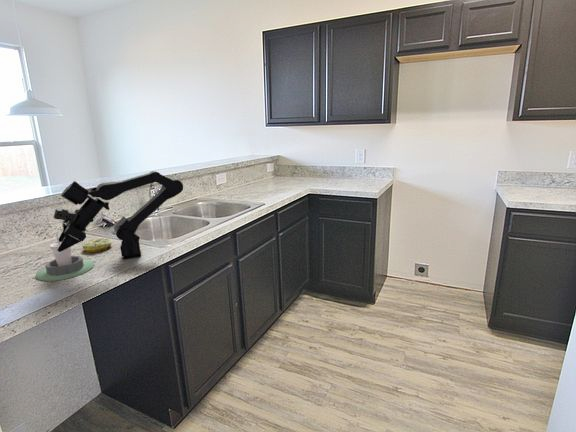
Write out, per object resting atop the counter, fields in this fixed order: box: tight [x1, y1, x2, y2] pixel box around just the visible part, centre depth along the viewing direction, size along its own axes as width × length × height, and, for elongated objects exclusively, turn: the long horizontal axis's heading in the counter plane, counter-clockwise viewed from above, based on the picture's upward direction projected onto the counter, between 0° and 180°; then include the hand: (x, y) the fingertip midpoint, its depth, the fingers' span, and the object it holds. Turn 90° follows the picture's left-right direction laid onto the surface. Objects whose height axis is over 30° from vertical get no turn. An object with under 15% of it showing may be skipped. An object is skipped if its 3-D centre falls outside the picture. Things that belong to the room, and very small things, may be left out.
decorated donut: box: [82, 237, 113, 253], centre depth 144 cm, size 10×11×4 cm
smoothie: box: [49, 232, 72, 266], centre depth 121 cm, size 6×6×14 cm
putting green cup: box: [35, 255, 95, 282], centre depth 122 cm, size 18×18×3 cm
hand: (58, 247), depth 120 cm, fingers open, 9 cm apart
